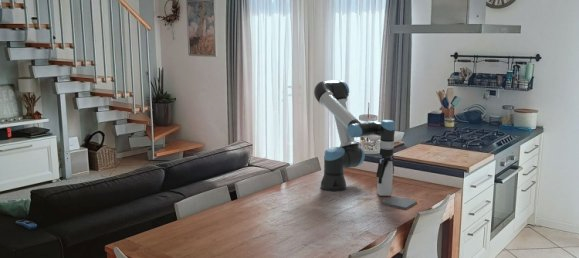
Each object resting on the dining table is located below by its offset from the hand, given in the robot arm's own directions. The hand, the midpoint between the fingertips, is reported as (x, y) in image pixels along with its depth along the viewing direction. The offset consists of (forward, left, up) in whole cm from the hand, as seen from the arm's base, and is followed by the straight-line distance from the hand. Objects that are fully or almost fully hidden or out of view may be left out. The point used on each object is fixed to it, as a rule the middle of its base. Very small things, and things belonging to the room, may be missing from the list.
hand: (384, 186), depth 294 cm
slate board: (+13, -9, -5) cm, 17 cm away
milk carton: (0, 0, -4) cm, 4 cm away
